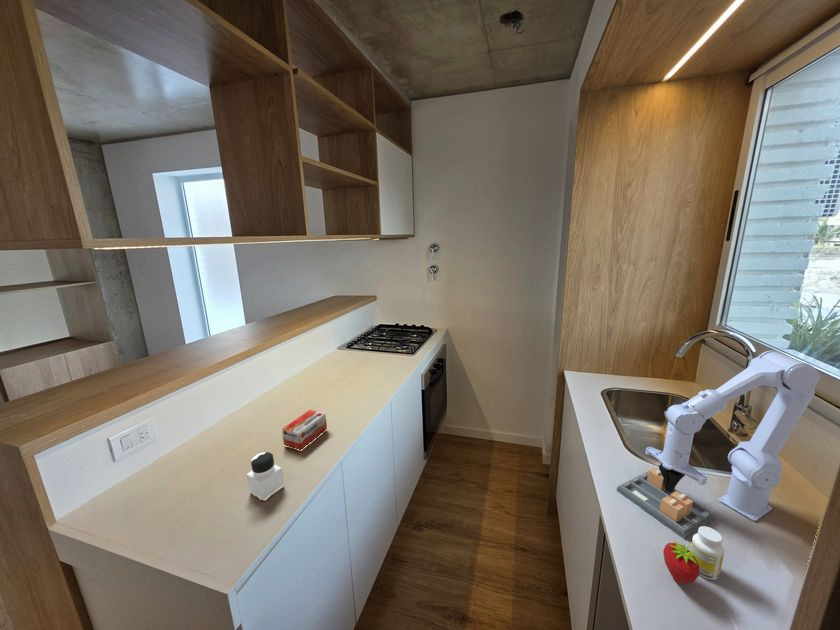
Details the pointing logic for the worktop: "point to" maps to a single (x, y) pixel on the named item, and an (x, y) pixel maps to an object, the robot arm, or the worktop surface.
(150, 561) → the worktop surface
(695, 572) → the strawberry
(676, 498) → the tan box with strip
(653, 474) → the cardboard box
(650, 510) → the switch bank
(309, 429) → the medicine box
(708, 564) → the supplement bottle
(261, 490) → the medicine bottle
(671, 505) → the orange box
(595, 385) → the worktop surface
